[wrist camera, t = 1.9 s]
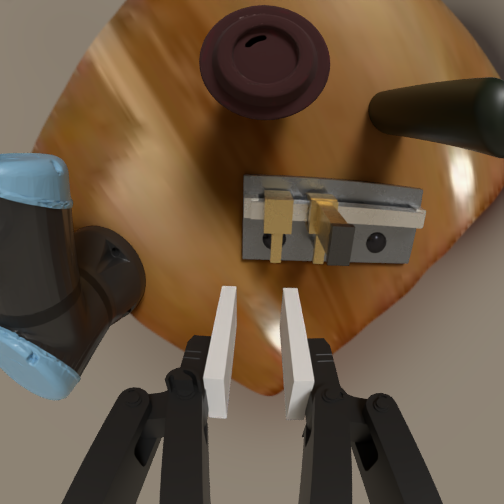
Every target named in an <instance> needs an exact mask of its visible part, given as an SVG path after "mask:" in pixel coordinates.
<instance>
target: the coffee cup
mask: <svg viewBox="0 0 504 504" xmlns="http://www.w3.org/2000/svg"><path fill="white" fill-rule="evenodd" d="M199 64H200V72H201V76H202V79H203V82H204V84H205V86H206V88H207V89H208V91H209V92H210V94H211V95H212V96H213V97H214V98H215V100H217V101H218V102H219V103H220V104H221V105H222V106H224V107H225V108H227V109H228V110H230V111H232V112H234V113H236V114H238V115H241V116H244V117H247V118H251V119H257V120H275V119H280V118H285V117H288V116H291V115H293V114H296V113H298V112H300V111H302V110H303V109H305V108H306V107H308V106H309V105H310V104H311V103H313V102H314V101H315V100H316V99H317V97H318V96H319V95H320V93H321V92H322V91H323V89H324V87H325V85H326V83H327V80H328V76H329V71H330V56H329V51H328V48H327V45H326V43H325V41H324V39H323V37H322V35H321V34H320V33H319V31H318V30H317V29H316V28H315V27H314V26H313V24H312V23H310V22H309V21H308V20H307V19H305V18H304V17H302V16H301V15H299V14H297V13H295V12H293V11H290V10H288V9H284V8H281V7H276V6H267V5H260V6H251V7H247V8H243V9H240V10H237V11H235V12H232V13H230V14H229V15H227V16H225V17H224V18H223V19H221V20H220V21H219V22H218V23H217V24H216V25H215V26H214V27H213V28H212V29H211V30H210V32H209V33H208V35H207V36H206V38H205V40H204V42H203V45H202V48H201V52H200V60H199Z"/></svg>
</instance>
